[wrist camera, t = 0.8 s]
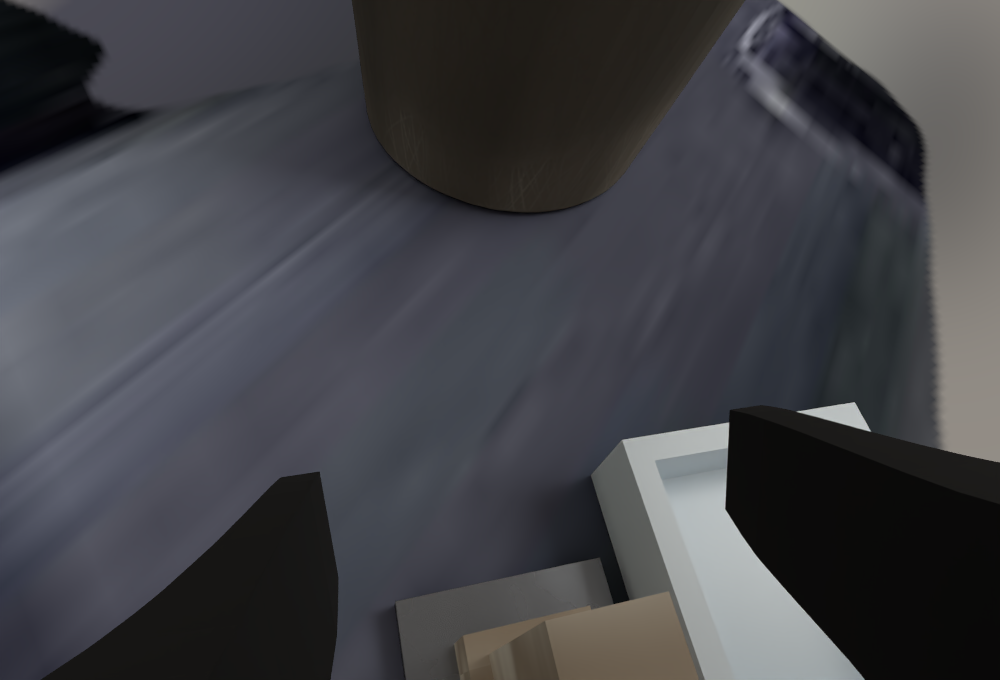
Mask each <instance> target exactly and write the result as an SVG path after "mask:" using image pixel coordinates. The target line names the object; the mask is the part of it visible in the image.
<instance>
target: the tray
mask: <svg viewBox="0 0 1000 680" xmlns="http://www.w3.org/2000/svg"><path fill="white" fill-rule="evenodd" d="M798 412H799V413H803V414H807V415H811V416H815V417H819V418H822V419H826V420H830V421H833V422H837V423H841V424H844V425H848V426H852V427H855V428H859V429H863V430H866V431H870V429H869V427H868V426H867V424H866V422H865V420H864V418H863V417H862V415H861V413H860V411H859V410H858V408H857V406H856V404H855V402H854V403H848V404H841V405H835V406H829V407H823V408H817V409H811V410H804V411H798ZM870 432H871V431H870ZM728 438H729V423H724V424H718V425H711V426H705V427H699V428H693V429H687V430H681V431H674V432H668V433H662V434H656V435H650V436H643V437H637V438H631V439H625V440H622V441H621V442H620V443H619V444H618V445H617V446H616V447H615V448H614V450H613V451H612V452H611V453H610V454H609V455H608V456H607V458H606V459H605V460H604V461H603V462H602V463H601V464H600V465H599V467H598V468H597V469H596V470H595V471H594V472H593V473H592V475H591V478H592V481H593V484H594V488H595V491H596V494H597V497H598V500H599V504H600V507H601V510H602V513H603V517H604V520H605V523H606V526H607V529H608V533H609V536H610V539H611V542H612V546H613V549H614V552H615V555H616V559H617V562H618V565H619V568H620V571H621V575H622V578H623V581H624V584H625V588H626V591H627V594H628V597H629V600H634V599H638V598H643V597H647V596H651V595H655V594H659V593H664V592H668V591H669V593H670V596H671V599H672V602H673V605H674V608H675V611H676V614H677V616H678V619H679V622H680V625H681V628H682V631H683V634H684V637H685V640H686V643H687V646H688V649H689V652H690V655H691V657H692V660H693V663H694V666H695V669H696V672H697V675H698V678H699V680H865V679H864V678H863V677H862V676H861V674H860V673H859V672H858V671H857V670H856V668H855V667H854V666H853V665H852V664H851V662H850V661H849V660H848V659H847V658H846V657H845V655H844V654H843V653H842V652H841V651H840V650H839V649H838V648H837V647H836V645H835V644H834V643H833V642H832V641H831V640H830V639H829V638H828V636H827V635H826V634H825V633H824V632H823V631H822V630H821V629H820V628H819V626H818V625H817V624H816V623H815V622H814V621H813V620H812V619H811V617H810V616H809V615H808V614H807V613H806V612H805V611H804V610H803V609H802V607H801V606H800V605H799V604H798V603H797V602H796V601H795V600H794V599H793V597H792V596H791V595H790V594H789V593H788V592H787V591H786V590H785V588H784V587H783V586H782V585H781V584H780V583H779V582H778V580H777V579H776V578H775V577H774V576H773V575H772V574H771V573H770V571H769V570H768V569H767V568H766V567H765V566H764V564H763V563H762V562H761V561H760V560H759V559H758V557H757V556H756V555H755V554H754V552H753V551H752V549H751V548H750V546H749V545H748V544H747V542H746V541H745V539H744V538H743V536H742V535H741V533H740V532H739V530H738V529H737V527H736V526H735V524H734V522H733V521H732V519H731V518H730V516H729V514H728V513H727V511H726V510H725V501H726V480H727V459H728Z"/></svg>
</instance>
